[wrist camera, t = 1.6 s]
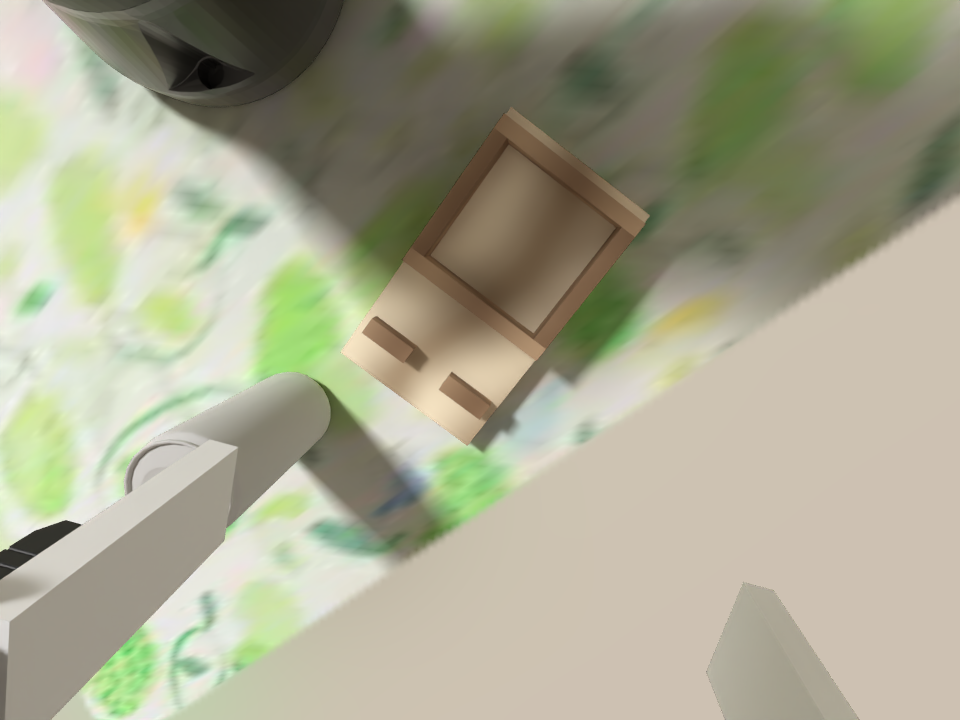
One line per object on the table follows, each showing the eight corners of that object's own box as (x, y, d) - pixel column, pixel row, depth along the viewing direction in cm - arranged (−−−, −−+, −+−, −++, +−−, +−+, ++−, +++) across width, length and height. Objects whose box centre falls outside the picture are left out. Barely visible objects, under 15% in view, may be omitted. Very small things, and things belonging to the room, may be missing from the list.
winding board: (346, 348, 34) (328, 359, 31) (511, 111, 30) (509, 97, 27) (469, 438, 34) (463, 458, 31) (645, 216, 31) (658, 214, 28)
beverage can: (328, 452, 35) (227, 560, 24) (252, 435, 36) (116, 533, 24) (339, 378, 34) (240, 452, 23) (261, 360, 34) (124, 425, 23)
